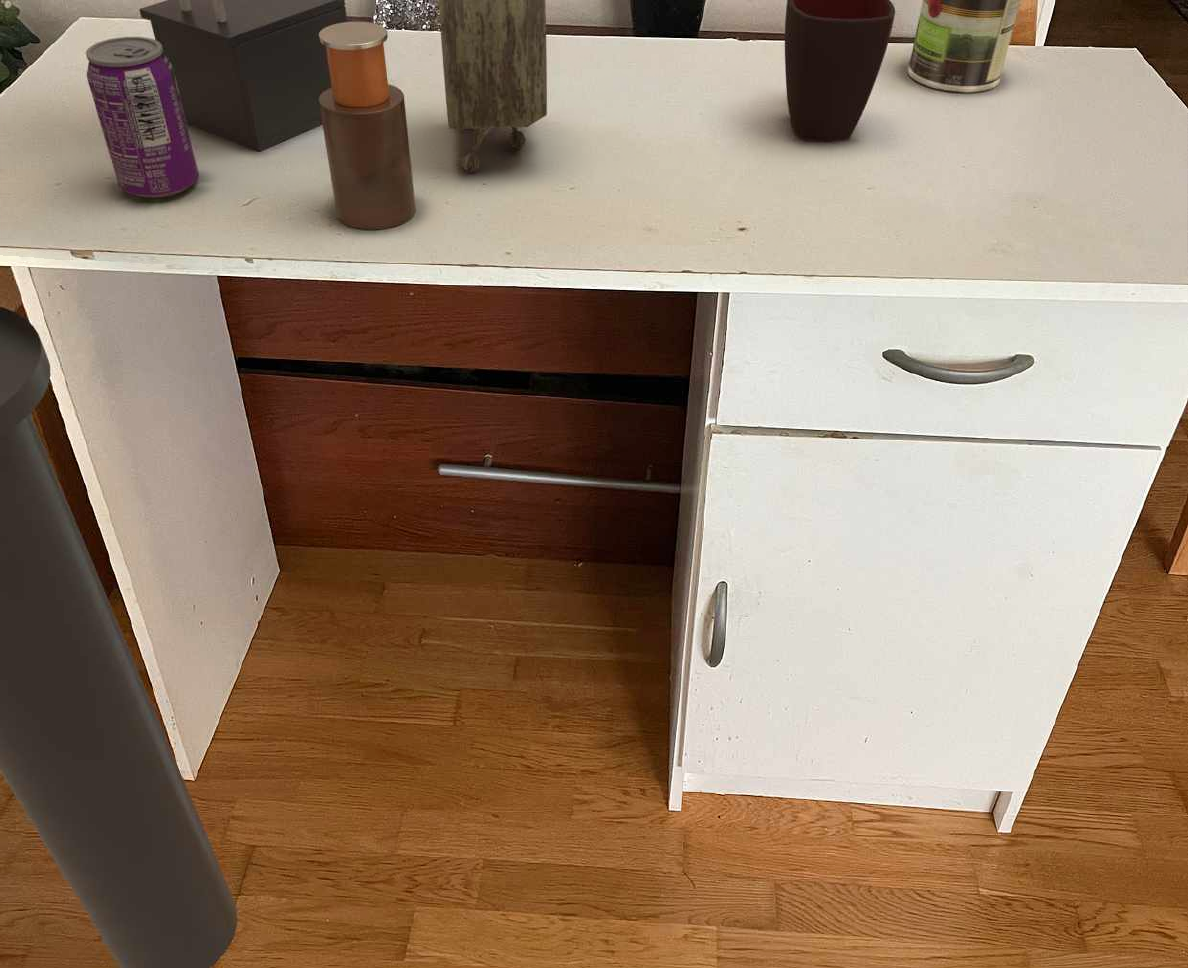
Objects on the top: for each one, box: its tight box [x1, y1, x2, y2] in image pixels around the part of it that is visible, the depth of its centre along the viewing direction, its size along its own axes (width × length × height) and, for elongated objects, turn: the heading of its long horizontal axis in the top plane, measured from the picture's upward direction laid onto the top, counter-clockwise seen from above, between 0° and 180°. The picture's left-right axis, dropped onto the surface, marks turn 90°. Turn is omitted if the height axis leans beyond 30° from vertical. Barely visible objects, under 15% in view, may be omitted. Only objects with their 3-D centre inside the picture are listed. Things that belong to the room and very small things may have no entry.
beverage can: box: [85, 36, 200, 199], centre depth 98 cm, size 7×7×12 cm
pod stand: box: [319, 83, 417, 231], centre depth 96 cm, size 7×7×10 cm
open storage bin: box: [150, 5, 348, 152], centre depth 111 cm, size 14×13×10 cm
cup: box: [784, 0, 896, 142], centre depth 111 cm, size 10×14×12 cm
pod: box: [319, 21, 389, 108], centre depth 91 cm, size 5×5×5 cm
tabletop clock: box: [437, 0, 548, 173], centre depth 101 cm, size 14×9×25 cm, turn 6°
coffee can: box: [907, 0, 1022, 94], centre depth 120 cm, size 10×10×14 cm
